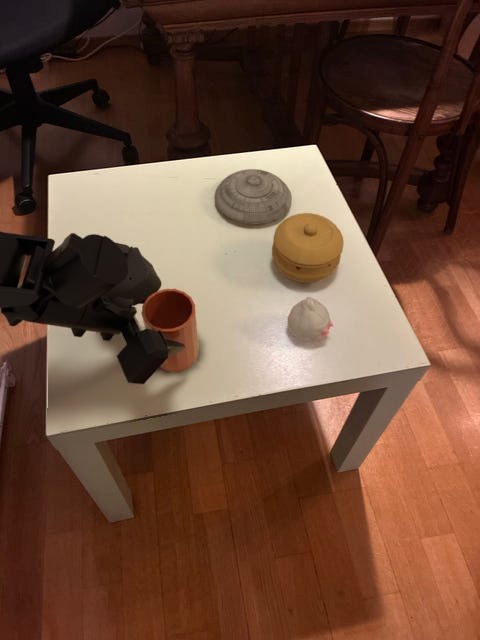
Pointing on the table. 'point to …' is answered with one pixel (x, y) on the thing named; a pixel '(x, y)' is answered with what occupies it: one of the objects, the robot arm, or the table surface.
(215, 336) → the table surface
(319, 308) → the figurine
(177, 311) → the tumbler
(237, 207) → the flying saucer
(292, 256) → the pot
